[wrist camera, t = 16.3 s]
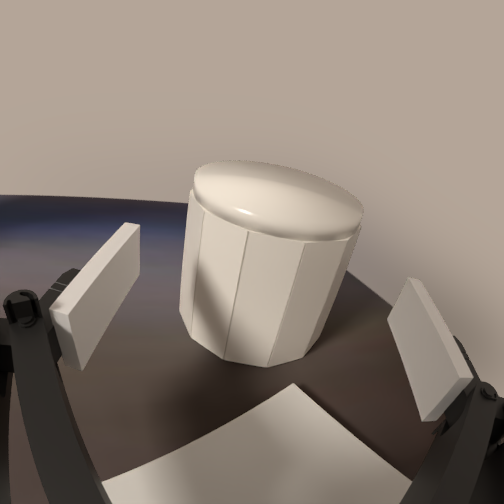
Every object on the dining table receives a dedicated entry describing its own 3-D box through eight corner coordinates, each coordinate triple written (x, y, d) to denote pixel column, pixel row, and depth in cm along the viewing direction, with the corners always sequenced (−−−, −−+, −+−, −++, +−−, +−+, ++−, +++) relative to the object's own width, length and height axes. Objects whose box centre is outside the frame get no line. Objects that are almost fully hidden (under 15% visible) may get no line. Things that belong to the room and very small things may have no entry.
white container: (152, 308, 22) (157, 172, 18) (237, 260, 30) (257, 155, 26) (273, 392, 18) (327, 245, 13) (337, 312, 26) (379, 200, 21)
